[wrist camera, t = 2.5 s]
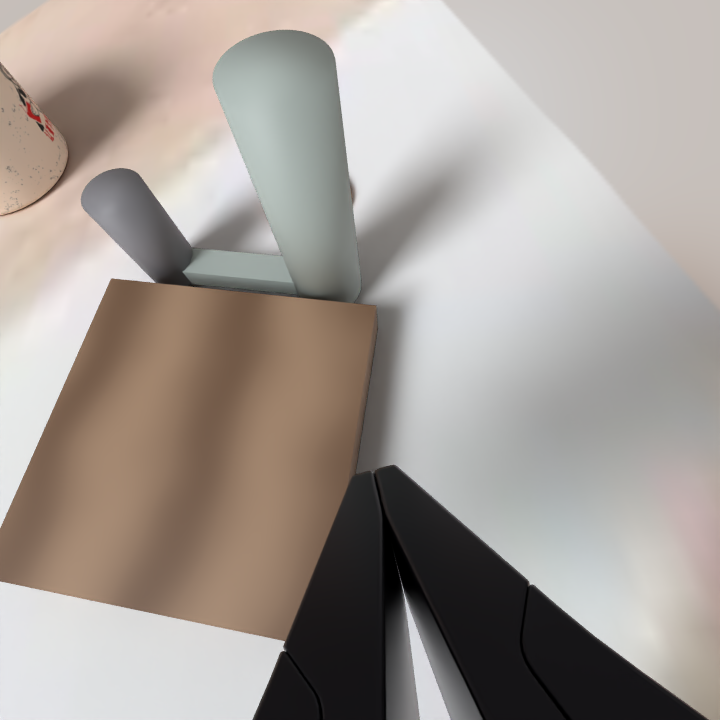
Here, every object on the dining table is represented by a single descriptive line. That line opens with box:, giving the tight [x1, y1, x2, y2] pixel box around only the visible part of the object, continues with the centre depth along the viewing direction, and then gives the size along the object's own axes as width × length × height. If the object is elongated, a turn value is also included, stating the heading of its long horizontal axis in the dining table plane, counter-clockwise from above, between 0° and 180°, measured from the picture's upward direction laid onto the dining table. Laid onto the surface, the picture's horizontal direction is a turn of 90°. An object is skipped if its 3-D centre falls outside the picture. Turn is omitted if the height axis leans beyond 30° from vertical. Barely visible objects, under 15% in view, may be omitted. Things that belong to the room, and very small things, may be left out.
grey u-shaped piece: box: [81, 30, 362, 303], centre depth 17 cm, size 12×4×12 cm, turn 81°
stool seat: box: [0, 186, 378, 641], centre depth 21 cm, size 14×25×2 cm, turn 171°
